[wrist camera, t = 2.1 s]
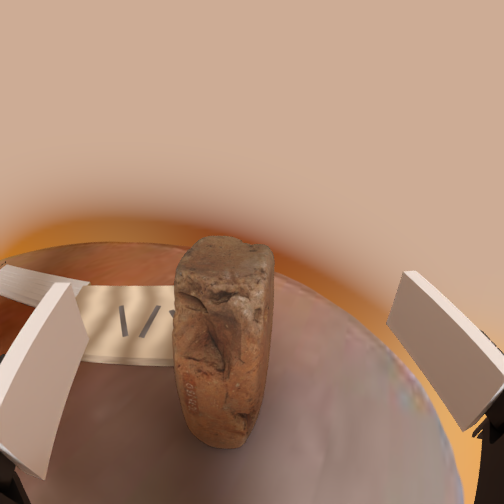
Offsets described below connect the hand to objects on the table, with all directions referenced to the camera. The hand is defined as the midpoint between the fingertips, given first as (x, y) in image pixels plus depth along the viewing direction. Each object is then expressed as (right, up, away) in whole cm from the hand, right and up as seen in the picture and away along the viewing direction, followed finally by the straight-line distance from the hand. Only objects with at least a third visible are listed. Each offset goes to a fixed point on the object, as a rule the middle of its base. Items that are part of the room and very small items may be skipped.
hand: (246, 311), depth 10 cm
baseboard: (-48, -6, +36) cm, 60 cm away
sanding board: (-17, -9, +32) cm, 37 cm away
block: (-3, -16, +18) cm, 25 cm away
